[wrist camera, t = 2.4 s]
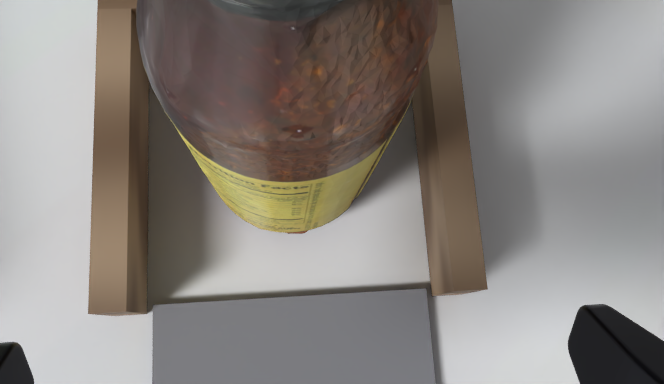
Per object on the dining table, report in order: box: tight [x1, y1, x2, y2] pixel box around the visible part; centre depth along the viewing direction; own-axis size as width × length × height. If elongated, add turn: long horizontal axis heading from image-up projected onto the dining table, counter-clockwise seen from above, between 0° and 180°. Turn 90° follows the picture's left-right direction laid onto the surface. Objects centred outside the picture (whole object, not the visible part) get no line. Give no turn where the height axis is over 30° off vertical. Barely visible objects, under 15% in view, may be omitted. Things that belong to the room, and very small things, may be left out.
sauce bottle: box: [136, 0, 439, 234], centre depth 14 cm, size 7×6×20 cm
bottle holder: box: [88, 0, 487, 316], centre depth 22 cm, size 12×13×3 cm
